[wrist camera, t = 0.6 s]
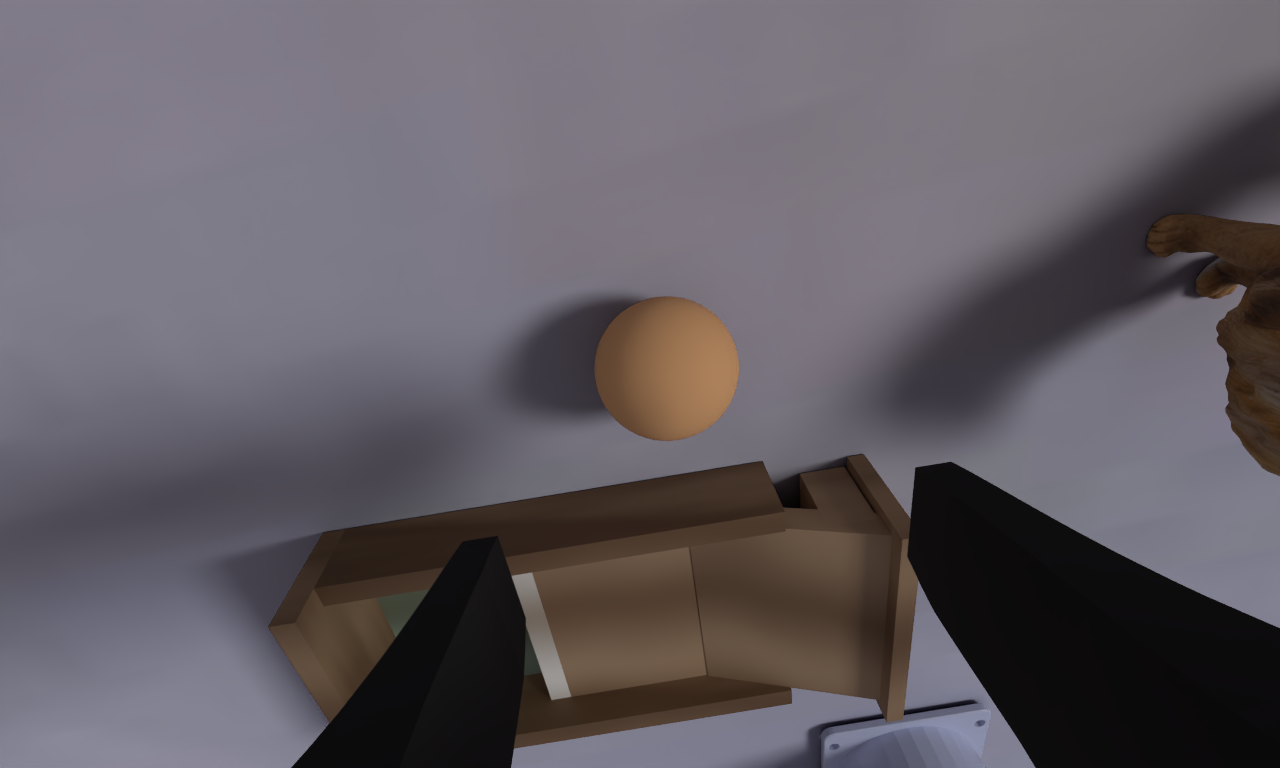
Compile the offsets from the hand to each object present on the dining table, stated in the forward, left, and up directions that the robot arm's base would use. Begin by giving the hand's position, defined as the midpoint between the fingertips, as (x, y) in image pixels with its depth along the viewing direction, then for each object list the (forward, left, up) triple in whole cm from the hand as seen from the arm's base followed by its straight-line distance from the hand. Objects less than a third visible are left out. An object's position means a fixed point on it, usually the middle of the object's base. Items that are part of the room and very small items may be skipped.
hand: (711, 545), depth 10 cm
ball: (0, 0, -7) cm, 7 cm away
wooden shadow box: (-10, +3, -9) cm, 14 cm away
